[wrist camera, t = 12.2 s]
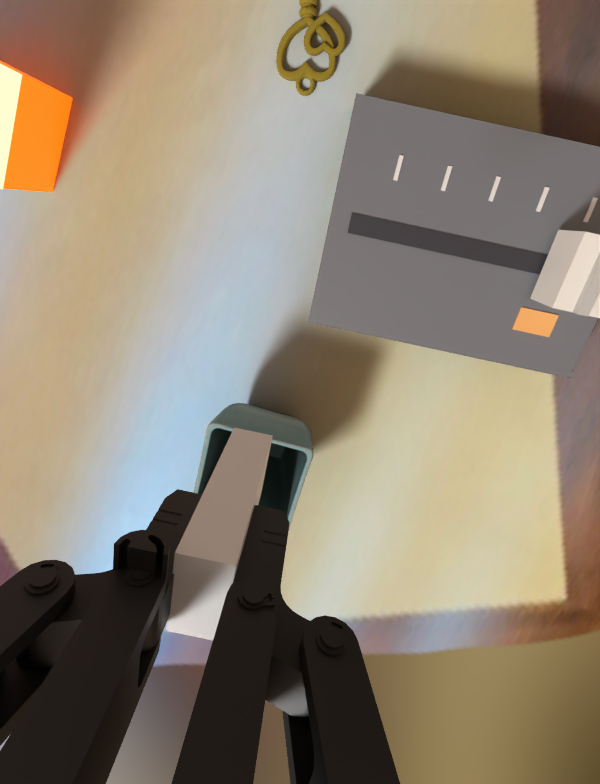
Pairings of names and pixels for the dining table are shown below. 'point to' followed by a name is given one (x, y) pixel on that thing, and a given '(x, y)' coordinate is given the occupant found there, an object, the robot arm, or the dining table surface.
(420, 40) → the dining table surface
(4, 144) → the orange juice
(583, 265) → the slider cap
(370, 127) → the dimmer console
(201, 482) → the flower pot
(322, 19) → the key
